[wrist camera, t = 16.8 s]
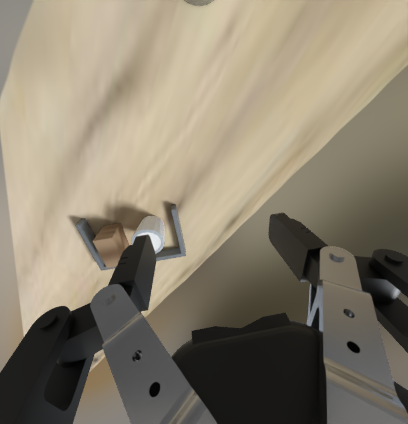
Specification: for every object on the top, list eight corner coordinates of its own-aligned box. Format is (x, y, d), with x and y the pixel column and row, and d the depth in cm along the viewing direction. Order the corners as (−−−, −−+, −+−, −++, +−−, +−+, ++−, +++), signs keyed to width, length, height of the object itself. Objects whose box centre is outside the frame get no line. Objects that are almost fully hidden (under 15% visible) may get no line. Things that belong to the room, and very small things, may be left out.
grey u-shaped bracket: (81, 219, 40) (75, 225, 37) (175, 204, 41) (175, 209, 39) (104, 263, 46) (101, 270, 44) (185, 249, 47) (185, 255, 45)
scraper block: (103, 225, 41) (92, 241, 36) (120, 222, 41) (111, 237, 36) (115, 250, 45) (107, 268, 40) (131, 248, 45) (124, 265, 40)
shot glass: (170, 231, 44) (169, 249, 38) (145, 239, 44) (140, 259, 38) (159, 209, 41) (156, 225, 35) (132, 218, 41) (124, 235, 35)
